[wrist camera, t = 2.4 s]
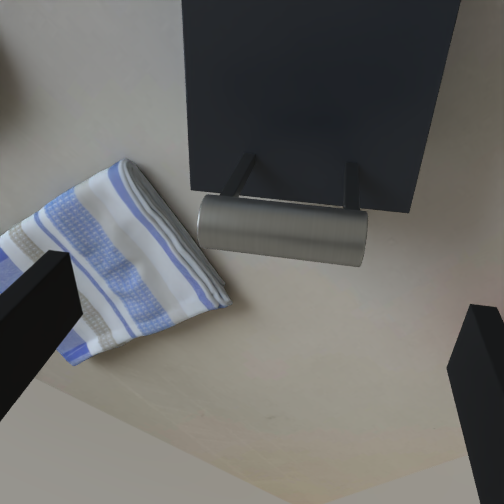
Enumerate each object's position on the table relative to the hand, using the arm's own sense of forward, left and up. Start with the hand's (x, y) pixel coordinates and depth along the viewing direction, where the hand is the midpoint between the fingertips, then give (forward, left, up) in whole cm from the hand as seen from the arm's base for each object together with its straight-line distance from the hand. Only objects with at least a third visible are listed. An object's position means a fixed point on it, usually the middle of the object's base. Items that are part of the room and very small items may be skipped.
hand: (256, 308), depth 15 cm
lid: (-2, -6, -15) cm, 16 cm away
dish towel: (+23, +12, -24) cm, 35 cm away
